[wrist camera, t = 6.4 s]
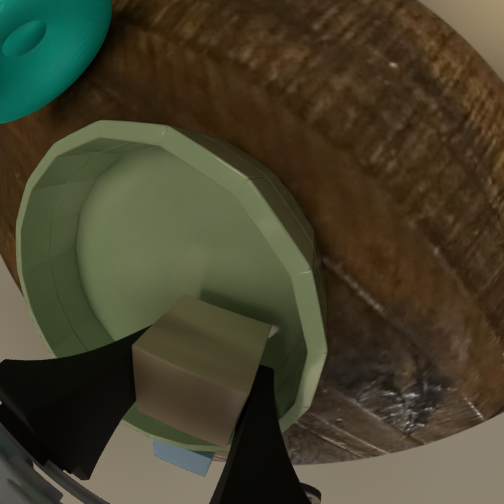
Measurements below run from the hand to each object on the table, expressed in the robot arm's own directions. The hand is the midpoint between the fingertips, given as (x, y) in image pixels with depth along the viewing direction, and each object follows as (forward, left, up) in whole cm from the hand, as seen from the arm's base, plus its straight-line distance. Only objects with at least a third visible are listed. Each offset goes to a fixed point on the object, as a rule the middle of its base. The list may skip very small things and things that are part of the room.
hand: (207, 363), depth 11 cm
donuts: (+15, +16, -4) cm, 22 cm away
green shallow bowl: (+1, +4, -3) cm, 5 cm away
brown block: (0, 0, -1) cm, 1 cm away
